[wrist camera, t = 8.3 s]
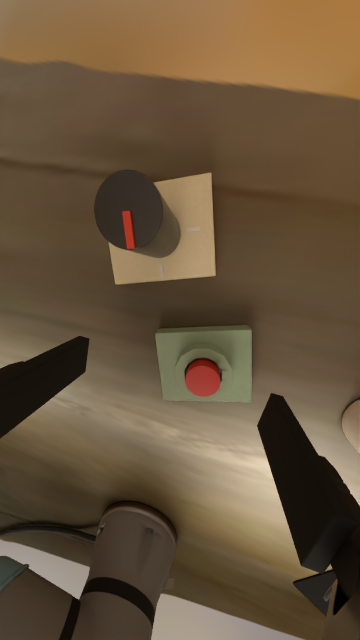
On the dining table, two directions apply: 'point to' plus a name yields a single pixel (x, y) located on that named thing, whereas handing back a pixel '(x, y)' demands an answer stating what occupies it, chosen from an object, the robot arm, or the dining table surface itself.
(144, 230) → the dimmer knob
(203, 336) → the switch box
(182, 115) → the dining table surface
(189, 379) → the button
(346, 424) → the cup
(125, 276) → the dimmer panel
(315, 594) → the table lamp
